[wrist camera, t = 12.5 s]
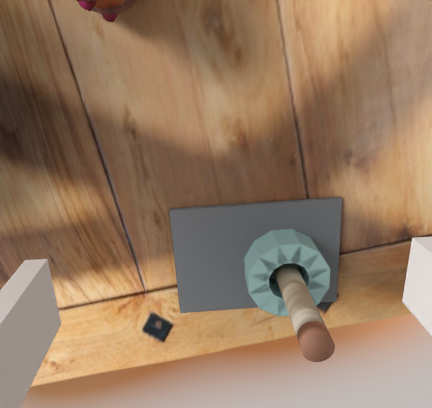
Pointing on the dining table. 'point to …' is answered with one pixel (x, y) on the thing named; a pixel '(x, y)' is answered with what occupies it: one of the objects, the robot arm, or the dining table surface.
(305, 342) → the dowel
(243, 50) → the dining table surface
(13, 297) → the robot arm
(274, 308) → the bead
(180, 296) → the mat
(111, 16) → the wooden banded keg
